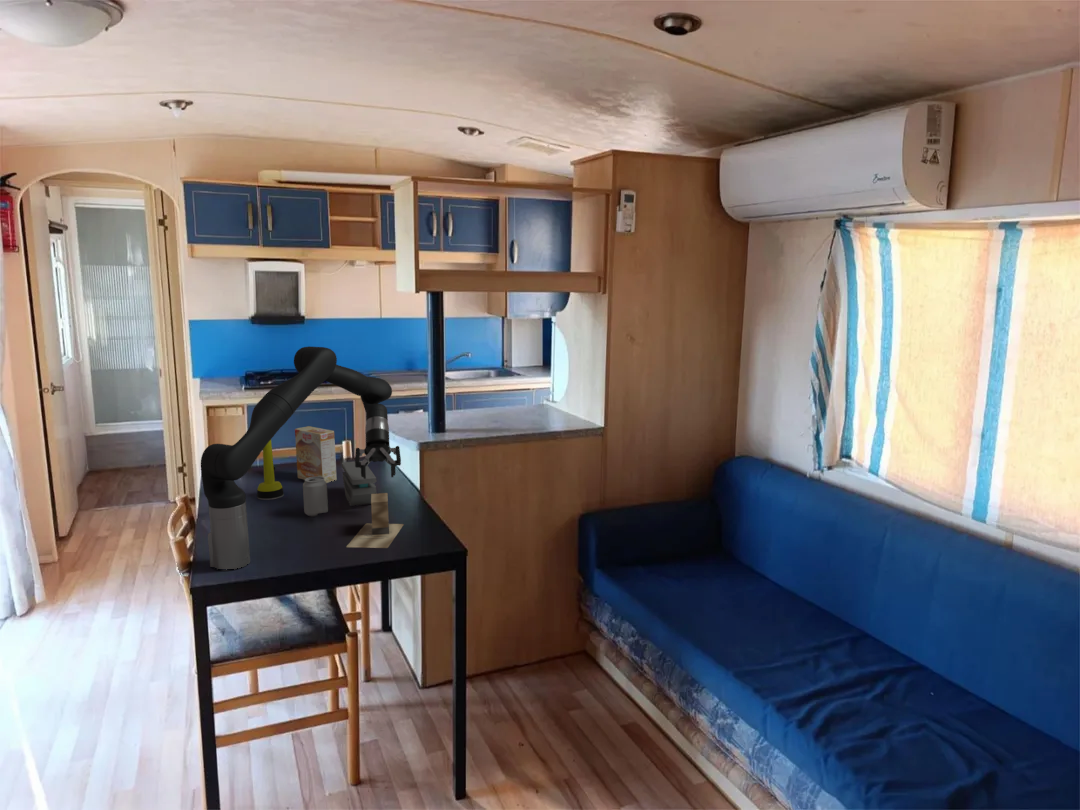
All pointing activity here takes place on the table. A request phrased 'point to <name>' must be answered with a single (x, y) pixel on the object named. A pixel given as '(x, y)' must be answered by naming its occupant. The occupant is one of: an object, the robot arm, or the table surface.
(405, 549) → the table surface
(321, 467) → the coffeecake box
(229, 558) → the robot arm
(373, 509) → the block
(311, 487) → the can
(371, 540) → the board
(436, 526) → the table surface
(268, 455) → the flashlight
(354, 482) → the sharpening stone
